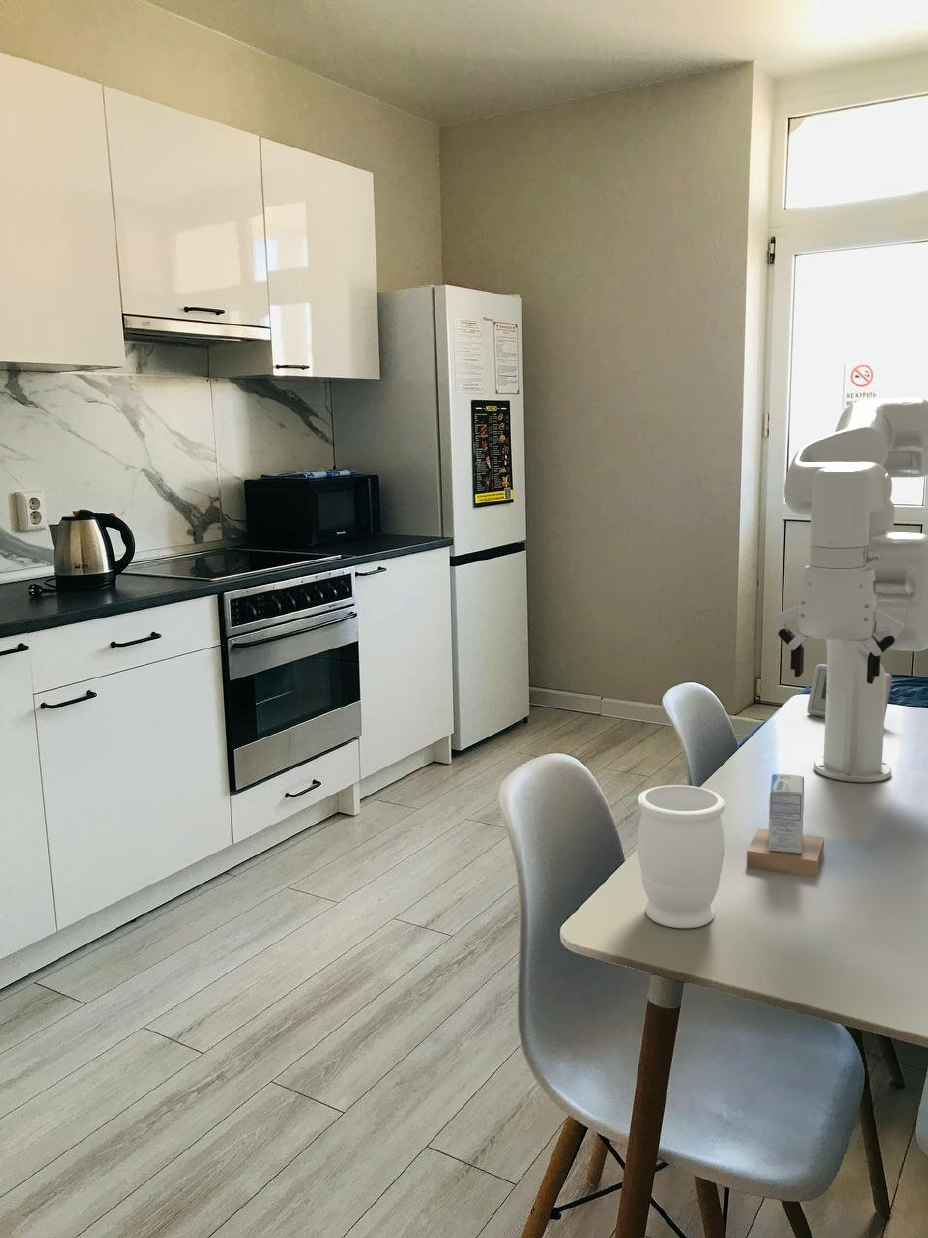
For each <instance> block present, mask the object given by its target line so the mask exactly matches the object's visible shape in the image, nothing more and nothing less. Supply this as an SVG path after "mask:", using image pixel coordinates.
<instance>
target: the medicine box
mask: <svg viewBox="0 0 928 1238" xmlns="http://www.w3.org/2000/svg"><path fill="white" fill-rule="evenodd" d="M770 782H771V784H770V790H769V802H768V803H769V804H768V805H769V807H768V808H769V809H768V830H769V851H775V852H783V853H794V854H801V853H802V843H803V834H804V810H805V809H804V808H805V807H804V806H805V777H804V776H803V775H798V774H785V773H783V774H782V773H772V775H771V781H770Z"/></svg>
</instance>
